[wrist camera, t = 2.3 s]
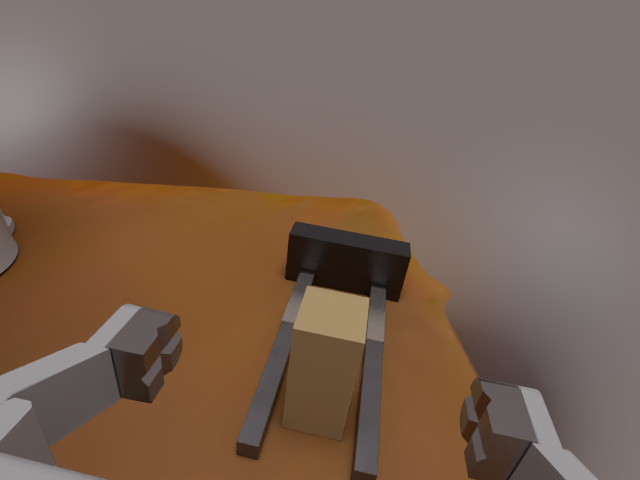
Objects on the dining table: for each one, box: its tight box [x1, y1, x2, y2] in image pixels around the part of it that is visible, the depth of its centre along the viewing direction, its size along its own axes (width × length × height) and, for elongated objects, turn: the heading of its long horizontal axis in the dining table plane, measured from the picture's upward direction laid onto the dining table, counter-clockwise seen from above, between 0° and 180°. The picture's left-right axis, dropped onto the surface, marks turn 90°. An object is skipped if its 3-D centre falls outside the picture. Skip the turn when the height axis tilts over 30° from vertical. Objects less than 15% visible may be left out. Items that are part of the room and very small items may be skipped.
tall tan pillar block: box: [282, 286, 370, 441], centre depth 28 cm, size 4×4×10 cm
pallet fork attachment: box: [237, 221, 411, 480], centre depth 35 cm, size 13×24×6 cm, turn 170°
